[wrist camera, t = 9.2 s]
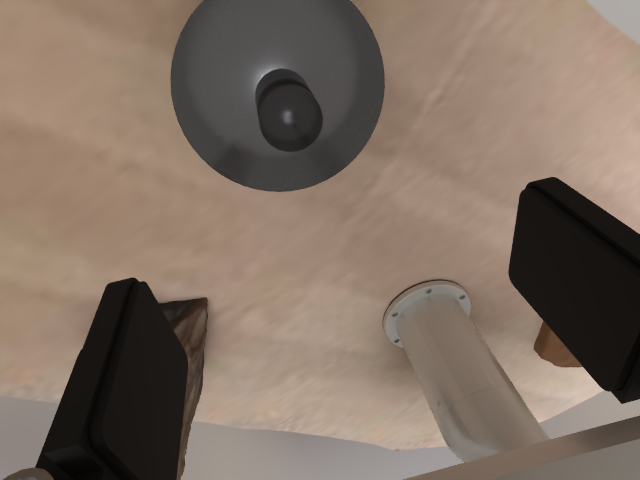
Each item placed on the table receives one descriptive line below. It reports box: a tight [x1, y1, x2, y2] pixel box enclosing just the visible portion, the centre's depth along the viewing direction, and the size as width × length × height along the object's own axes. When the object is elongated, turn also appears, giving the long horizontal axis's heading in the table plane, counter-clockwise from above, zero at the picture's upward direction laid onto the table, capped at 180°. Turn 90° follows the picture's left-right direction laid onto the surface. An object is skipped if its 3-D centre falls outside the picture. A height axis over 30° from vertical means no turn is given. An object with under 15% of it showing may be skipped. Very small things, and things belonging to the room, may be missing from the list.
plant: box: [534, 322, 583, 367], centre depth 62 cm, size 20×20×11 cm
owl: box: [159, 298, 208, 480], centre depth 42 cm, size 13×13×20 cm
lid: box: [171, 0, 385, 192], centre depth 21 cm, size 12×12×5 cm
